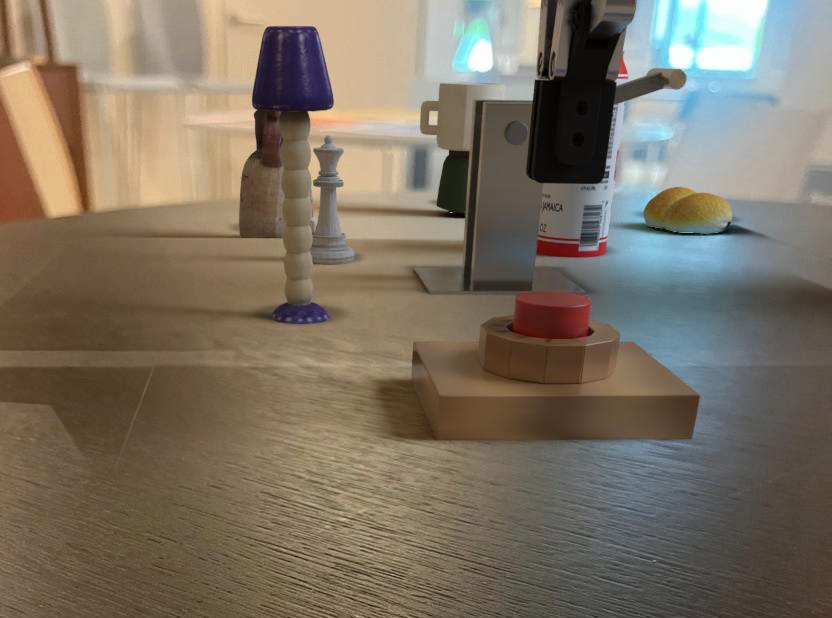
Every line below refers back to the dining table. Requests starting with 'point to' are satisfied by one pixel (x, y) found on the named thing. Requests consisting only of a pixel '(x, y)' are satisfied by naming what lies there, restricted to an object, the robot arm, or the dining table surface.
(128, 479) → the dining table surface
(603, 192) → the beer can
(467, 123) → the character mug
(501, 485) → the dining table surface
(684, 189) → the bread roll
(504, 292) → the switch bracket
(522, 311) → the timer button
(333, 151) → the chess piece
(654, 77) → the switch lever
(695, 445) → the dining table surface
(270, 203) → the figurine
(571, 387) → the button base
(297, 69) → the toy lamp
